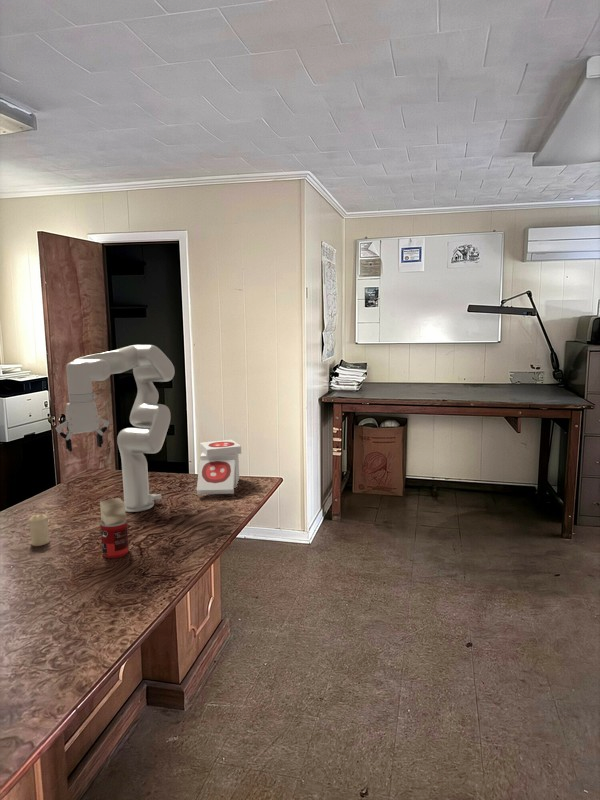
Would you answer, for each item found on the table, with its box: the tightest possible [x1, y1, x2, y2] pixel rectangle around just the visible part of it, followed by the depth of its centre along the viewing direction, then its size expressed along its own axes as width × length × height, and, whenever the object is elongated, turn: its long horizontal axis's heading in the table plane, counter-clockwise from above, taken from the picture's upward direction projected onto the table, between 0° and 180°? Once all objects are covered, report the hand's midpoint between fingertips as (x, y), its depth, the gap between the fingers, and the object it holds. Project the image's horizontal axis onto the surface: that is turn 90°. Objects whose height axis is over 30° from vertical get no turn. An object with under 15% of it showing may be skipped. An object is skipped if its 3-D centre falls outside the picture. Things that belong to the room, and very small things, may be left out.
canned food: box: [99, 519, 129, 559], centre depth 182 cm, size 8×8×11 cm
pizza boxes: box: [196, 439, 242, 495], centre depth 248 cm, size 19×30×18 cm, turn 1°
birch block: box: [99, 497, 127, 525], centre depth 180 cm, size 6×6×6 cm
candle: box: [28, 512, 50, 547], centre depth 192 cm, size 6×6×10 cm
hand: (84, 448), depth 195 cm, fingers open, 9 cm apart
